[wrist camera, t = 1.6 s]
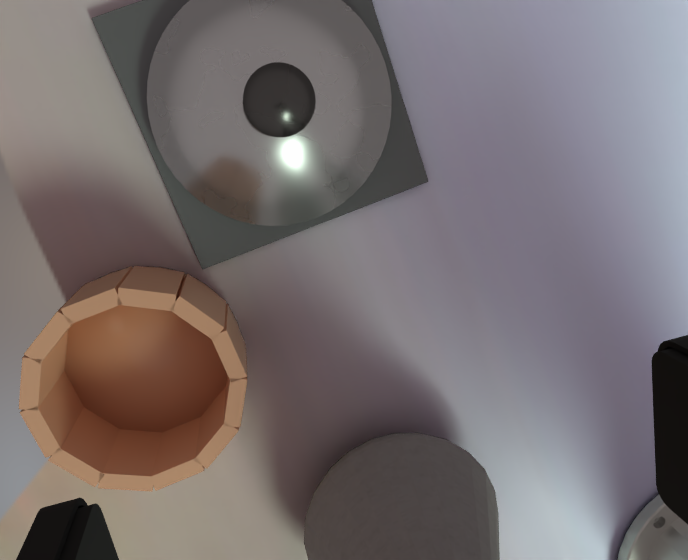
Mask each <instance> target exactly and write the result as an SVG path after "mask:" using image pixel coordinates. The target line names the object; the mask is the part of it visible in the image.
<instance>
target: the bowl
mask: <svg viewBox="0 0 688 560" xmlns="http://www.w3.org/2000/svg"><path fill="white" fill-rule="evenodd" d="M246 386H247V357H246V344H245V341H244V339H243V337H242V335H241V332H240V329H239V326H238V324H237V321H236V319H235V317H234V315H233V313H232V312H231V309H230V307H229V305H228V304H226V301H225V300H224V299H222V298H221V297H220V296H219V295H218V294H217V293H216V292H214V291H213V290H212V289H211V288H210V287H208V286H207V285H206V284H204V283H202V282H201V281H199V280H198V279H196V278H194V277H192V276H191V275H189V274H185V273H184V272H179V271H176V270H172V269H167V268H162V267H149V266H147V267H141V266H134V267H133V268H132V266H131V267H128V268H125V269H122V270H119V271H116V272H113V273H110V274H107V275H105V276H103V277H101V278H99V279H97V280H94V281H92V282H89V283H86V284H85V285H84V286H82V287H81V288H80V289H79V290H78V291H77V292H76V293H75V294H74V295H73V296H72V297H71V298H70V299H69V300H68V301H67V302H66V303H65V304H64V305H63V306H62V307H61V308H60V309H59V310H58V311H57V312H56V314H55V315H54V316H53V317H52V319H51V320H50V321H49V323H48V324H47V325H46V326H45V328H44V329H43V330H42V331H41V333H40V334H39V335H38V337H37V338H36V339H35V340H34V342H33V343H32V344H31V346H30V347H29V348H28V349H27V351H26V352H25V353H24V356H23V358H22V371H21V385H20V400H19V409H22V410H21V412H20V414H21V416H22V417H23V419H24V421H25V422H26V425H27V426H28V428H29V430H30V431H31V433H32V435H33V437H34V438H35V440H36V442H37V444H38V445H39V447H40V449H41V450H42V452H43V454H44V456H45V457H49V456H50V458H49V461H50V462H52V463H54V464H56V465H57V466H59V467H61V468H62V469H64V470H66V471H68V472H69V473H71V474H73V475H75V476H76V477H78V478H80V479H81V480H83V481H85V482H87V483H88V484H90V485H92V486H94V487H95V486H96V485H97V484H98V482H99V486H98V488H104V489H120V490H137V491H152V490H153V486H154V488H155V490H156V491H157V490H159V489H161V488H164V487H166V486H169V485H171V484H173V483H176V482H178V481H181V480H183V479H186V478H188V477H190V476H193V475H195V474H198V473H200V472H202V471H204V468H208V467H209V466H210V465H211V463H212V462H213V461H214V460H215V459H216V457H217V456H218V455H219V454H220V453H221V451H222V450H223V449H224V448H225V447H226V445H227V444H228V443H229V442H230V440H231V439H232V438H233V437H234V436H235V434H236V433H237V432H238V431H239V427H240V425H241V419H242V412H243V406H244V399H245V392H246Z"/></svg>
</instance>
